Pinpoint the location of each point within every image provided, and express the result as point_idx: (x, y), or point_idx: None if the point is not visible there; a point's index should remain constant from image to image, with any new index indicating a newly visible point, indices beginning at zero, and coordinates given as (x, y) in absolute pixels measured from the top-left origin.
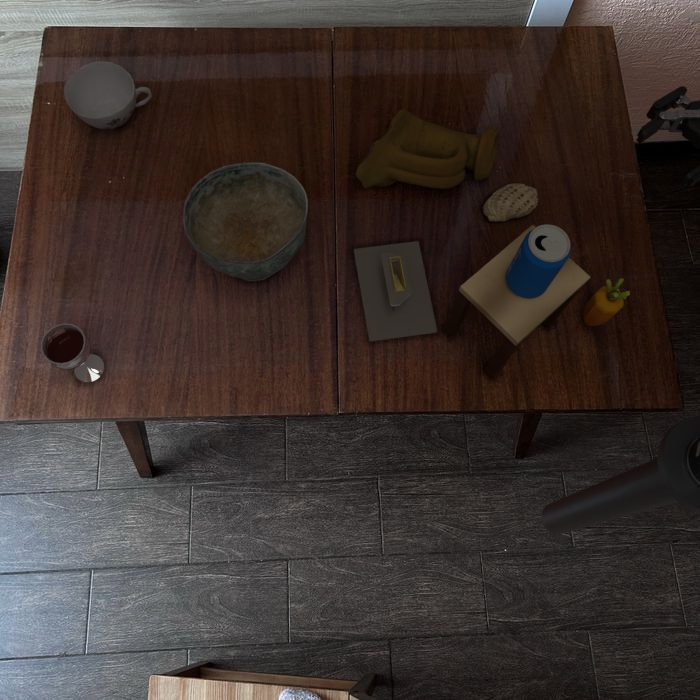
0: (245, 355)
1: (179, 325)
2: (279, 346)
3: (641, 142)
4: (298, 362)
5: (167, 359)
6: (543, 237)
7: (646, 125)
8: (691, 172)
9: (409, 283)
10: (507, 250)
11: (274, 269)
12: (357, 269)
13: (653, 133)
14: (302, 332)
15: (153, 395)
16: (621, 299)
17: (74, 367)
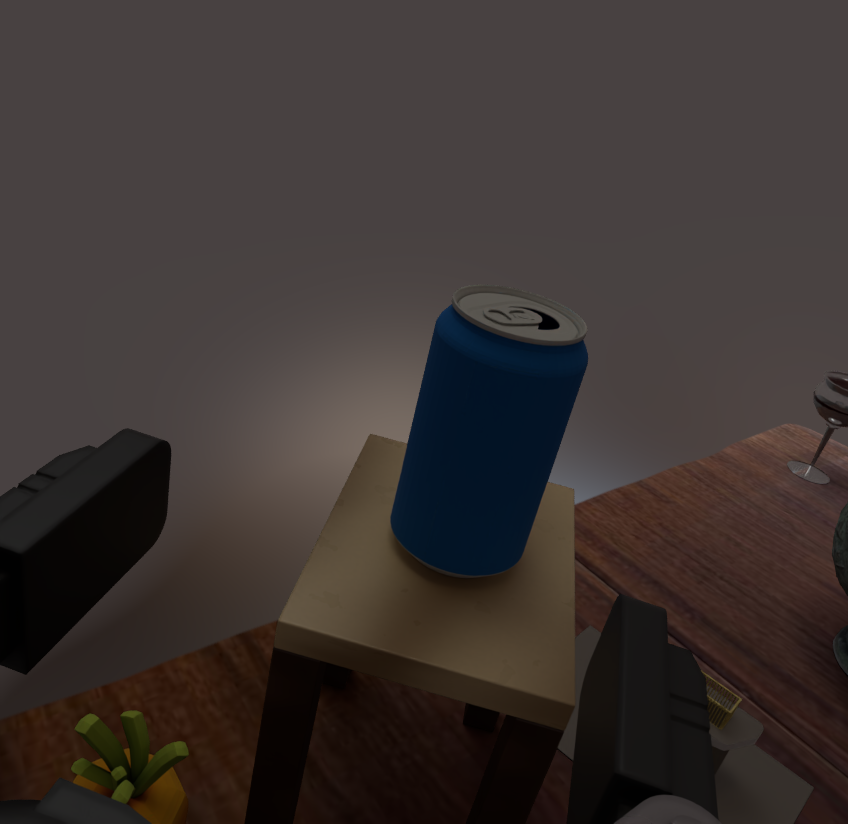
0: (707, 538)
1: (812, 541)
2: (688, 565)
3: (581, 696)
4: (643, 556)
5: (766, 504)
6: (533, 442)
7: (691, 703)
8: (136, 451)
9: None
10: (563, 596)
11: (838, 524)
12: (755, 746)
13: (576, 798)
14: (688, 595)
15: (725, 469)
16: None
17: (815, 390)
